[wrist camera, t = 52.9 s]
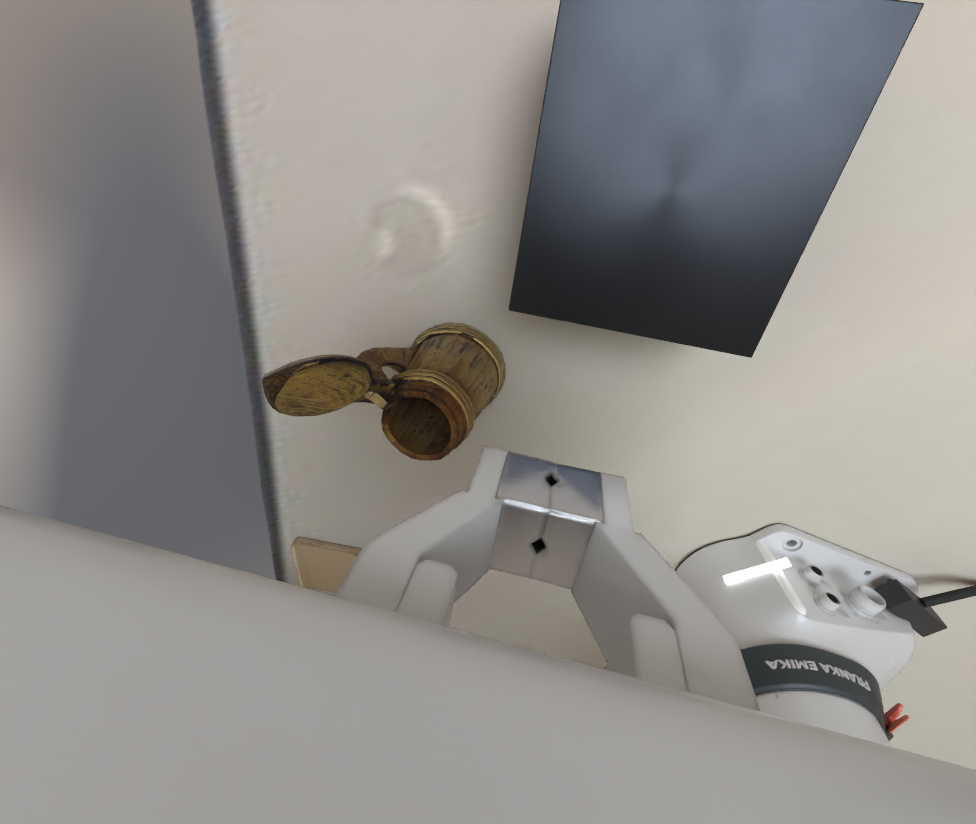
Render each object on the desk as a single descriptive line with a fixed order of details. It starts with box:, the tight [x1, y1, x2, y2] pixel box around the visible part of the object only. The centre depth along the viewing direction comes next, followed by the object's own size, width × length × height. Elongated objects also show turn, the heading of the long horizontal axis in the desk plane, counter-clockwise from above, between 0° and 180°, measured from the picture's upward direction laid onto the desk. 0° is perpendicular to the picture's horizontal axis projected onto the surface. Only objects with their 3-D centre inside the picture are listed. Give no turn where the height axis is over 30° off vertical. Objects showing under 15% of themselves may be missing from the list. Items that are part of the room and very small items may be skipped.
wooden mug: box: [262, 323, 505, 460], centre depth 33 cm, size 9×14×18 cm, turn 45°
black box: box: [509, 0, 924, 357], centre depth 26 cm, size 16×15×11 cm
